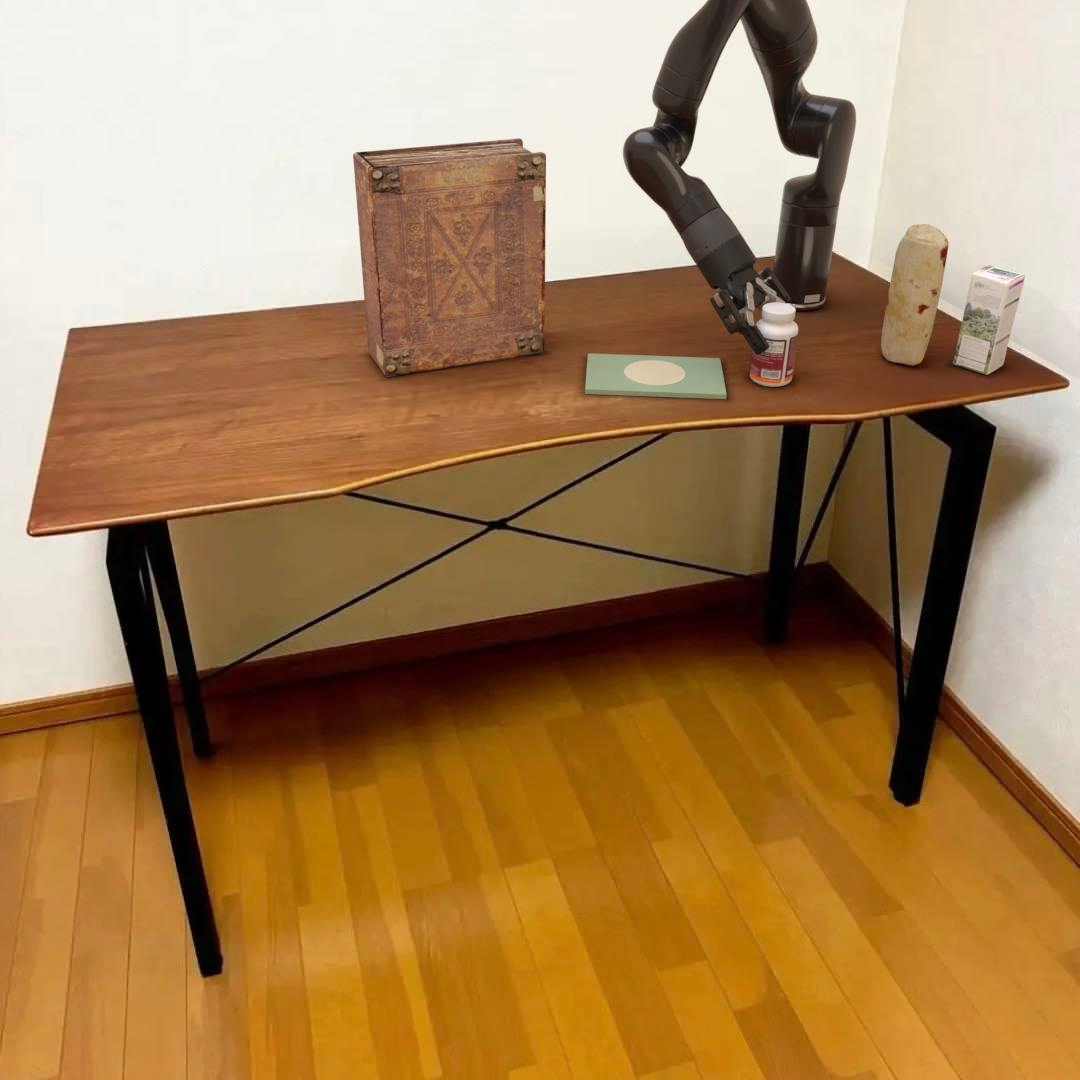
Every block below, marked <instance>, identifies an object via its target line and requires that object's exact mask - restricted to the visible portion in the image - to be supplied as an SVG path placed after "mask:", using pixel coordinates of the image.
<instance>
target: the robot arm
mask: <svg viewBox="0 0 1080 1080" xmlns="http://www.w3.org/2000/svg"><path fill="white" fill-rule="evenodd" d="M739 22H741V25H742V28H743V31H744V33H745V36H746V37H745V38H746V40H747V42H748V45H749V49H750V50H751V52H752V55H753V57H754V59H755V62H756V64H757V65H758V69H759V72H760V74H761V76H762V81H763V83H764V85H765V89H766V91H767V94H768V97H769V100H770V101H769V102H770V104H771V105H770V106H771V109H772V113H773V117H774V121H775V125H776V130H777V133H778V137H779V140H780V142H781V145H782V146H783V148H784V149H785V150H786V151H787V152H789V153H790V154H793V155H795V156H799V157H804V158H805V157H806V158H811V159H816V160H818V162H817V165H816V168H815V171H814V172H812V173H809V174H804V175H803V174H802V175H798V176H795V177H791V178H789V179H788V180H786V181H785V183H784V185H783V189H782V196H781V205H780V213H779V221H778V229H777V237H776V246H775V251H774V261H773V269H772V268H771V267H769V266H766V267H765V268H764V269H762V270H761V271H759V272H757V271H756V270H755V268H754V264H755V263H756V262H757V257H756V255H755V254H754V252H753V251H752V249H751V248H750V245H749V244H748V243H747V241H746V240H745V238H744V237H743V235H742V233H741V231H740V230H739V229H738V227H737V226H736V224H735V223H734V221H733V219H732V218H731V217H730V215H728V214H727V212H726V211H725V210H724V209H723V207H722V206H721V204H720V202H719V200H718V199H717V197H715V194H714V193H713V191H712V190H711V189H710V187H709V186H708V184H707V183H706V182H705V181H704V180H703V179H702V178H700V177H698V176H693V175H690V174H688V173H686V171H685V170H684V169H683V168H682V167H683V166H684V164H685V163H686V161H687V160H688V158H689V155H690V154H691V151H692V148H693V145H694V140H695V135H696V131H697V130H696V129H697V124H698V119H699V112H700V107H701V105H702V103H703V101H704V98H705V95H706V93H707V90H708V88H709V86H710V83H711V80H712V79H713V76H714V74H715V70H716V68H717V65H718V64H719V61H720V59H721V57H722V54H723V52H724V50H725V48H726V45H727V43H728V42H729V40H730V38H731V36H732V34H733V33H734V31H735V29H736V28H737V26H738V24H739ZM817 31H818V30H817V27H816V25H815V21H814V18H813V14H812V11H811V8H810V6H809V2H808V1H807V0H707V1H706V2H705V3H704V4H703V5H702V6H701V7H700V9H698V11H696V12H695V14H694V15H692V16H691V17H690V18H689V20H687V22H685V24H684V25H683V26H682V27H681V28H680V29H679V30H678V31H677V33H676V34H675V36H674V37H673V39H672V40H671V42H670V44H669V46H668V48H667V51H666V53H665V55H664V57H663V61H662V64H661V67H660V69H659V71H658V75H657V77H656V80H655V83H654V86H653V89H652V93H651V101H652V103H653V105H654V107H655V108H656V109H657V112H656V115H655V119H654V122H653V124H652V125H651V126H648V127H643V128H642V127H641V128H639V129H636V130H634V131H633V132H631V133H630V134H629V135H628V136H627V138H626V139H625V141H624V143H623V147H622V159H623V163H624V167H625V169H626V171H627V173H628V175H629V176H630V178H631V179H632V180H633V181H634V183H635V184H636V185H637V186H638V187H639V188H640V189H641V190H642V191H643V192H644V193H645V194H646V195H647V196H648V197H649V198H650V199H651V201H653V203H655V204H656V205H657V206H658V207H659V208H660V209H662V210H663V212H664V213H665V215H666V216H667V218H668V220H669V221H670V223H671V225H672V226H673V228H674V229H675V231H676V232H677V234H678V235H679V237H680V238H681V240H682V242H683V245H684V248H685V249H686V251H687V253H688V254H689V256H690V257H691V259H692V260H693V262H694V264H695V265H696V267H697V268H698V270H699V272H700V273H701V274H702V276H703V277H704V279H705V281H706V282H707V284H708V285H709V287H710V288H711V290H718V289H719V290H718V291H717V292H716V293H715V294H714V295H712V296H711V297H709V301H710V304H711V305H712V307H713V309H714V310H715V312H716V314H717V315H718V317H719V319H720V320H721V322H722V323H723V325H724V327H725V329H726V331H727V332H728V333H729V334H730V335H733V334H735V333H737V334H738V335H742V336H743V338H744V339H745V341H746V343H747V344H748V346H749V347H750V349H751V350H753V351H754V352H755V354H756V355H760V354H761V353H763V352H764V351H766V350H767V349H768V348H769V344H768V343H767V341H766V340H765V338H764V336H763V335H762V333H761V332H760V330H759V329H758V327H757V326H755V319H754V312H755V310H756V309H757V310H758V311H762V308H763V306H764V305H765V304H767V303H773V302H779V303H786V304H789V305H792V306H793V307H795V309H796V311H800V312H803V311H805V312H806V311H814V310H815V311H816V310H819V309H821V308H822V307H824V306H825V304H826V298H827V297H826V293H827V288H828V282H829V274H830V268H831V261H832V256H833V248H834V241H835V235H836V229H837V222H838V215H839V209H840V202H841V196H842V192H843V189H844V187H845V186H844V185H845V182H846V178H847V173H848V168H849V167H848V166H849V162H850V157H851V151H852V148H853V143H854V139H855V133H856V126H857V111H856V108H855V105H854V104H853V102H852V101H851V100H849V99H846V98H845V99H844V98H838V97H831V96H827V95H826V96H825V95H819V94H813V93H811V92H809V90H807V89H806V86H805V85H804V82H803V77H805V74H806V72H807V71H808V69H809V67H810V66H811V64H812V62H813V60H814V58H815V55H816V51H817V48H818V42H819V41H818V32H817ZM730 316H731V318H730ZM731 319H732V320H733V322H732V320H731Z"/></svg>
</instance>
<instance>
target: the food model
mask: <svg viewBox="0 0 1080 1080" xmlns="http://www.w3.org/2000/svg"><path fill="white" fill-rule="evenodd" d="M949 245H950V244H949V240H948V237H947V236H946V235H945V234H944V233H943V232H942V230H940V229H939V228H938V227H936V226H933V225H931V224H926V223H921V224H920V223H919V224H913V225H911V226H909V227H908V228H907V230H906V232H905V235H904V236H903V237H901V239H900V241H899V243H898V246H897V248H896V250H895V256H894V262H893V268H892V272H891V276H890V277H891V278H890V282H889V286H888V287H889V288H888V294H887V297H886V298H887V299H886V306H885V311H884V317H883V323H882V329H881V330H882V331H881V337H880V339H881V340H880V349H881V354H882V356H883V357H884V359H886V360H887V361H888V362H891V363H897V364H903V365H907V366H916V365H919V364H921V363H922V362H923V360H924V358H925V355H926V352H927V349H928V346H929V343H930V339H931V336H932V332H933V329H934V323H935V319H936V316H937V311H938V307H939V306H938V305H939V301H940V296H941V291H942V286H943V281H944V275H945V271H946V270H945V269H946V264H947V257H948V251H949Z"/></svg>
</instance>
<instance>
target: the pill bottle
mask: <svg viewBox="0 0 1080 1080" xmlns="http://www.w3.org/2000/svg"><path fill="white" fill-rule="evenodd" d="M796 311H797V310H796V309H795V307H793V306H792V305H789V304H786V303H779V302H773V303H767V304H765V305H764V306H763V308H762V310H761V318H760V319H759V320H758V321H757V322H756V323H755V324H754V326H757V327H758V329H759V330H760V332H761V333H762V335H763V336H764V338H765V340H766V341H767V343H768V344H769V348H768V349H767V350H766V351H764V352H763V353H761V354H760V355H756V354H755V352H754V351H753V350H752V349H751V350H752V351H751V359H750V369H749V378H750V379H751V381H752V382H754V383H756V384H757V385H760V386H764V387H769V388H778V387H783V386H786V385H788V384H790V383H791V382H792V380H793V377H794V376H793V375H794V368H795V359H796V351H797V344H798V343H797V342H798V338H799V325H798V324H797V323H796V321H794V320H795V318H796Z"/></svg>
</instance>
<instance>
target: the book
mask: <svg viewBox="0 0 1080 1080" xmlns="http://www.w3.org/2000/svg"><path fill="white" fill-rule="evenodd" d="M352 159H353V173H354V184H355V185H354V186H355V198H356V199H355V200H356V211H357V222H358V236H359V249H360V261H361V262H360V263H361V274H362V285H363V287H362V288H363V297H364V298H363V299H364V300H363V301H364V312H365V323H366V324H365V325H366V336H367V348H368V349H367V350H368V354H369V355H370V357H371V358H372V359H373V361H374V363H375V364H376V365H377V366H378V368H379V369H380V371H381V372H382V373H383V375H384V377H386V378H389V377H396V376H402V375H409V374H417V373H424V372H429V371H431V372H432V371H436V370H438V371H439V370H445V369H449V368H450V369H451V368H457V367H465V366H471V365H477V364H484V363H485V364H486V363H491V362H499V361H505V360H512V359H519V358H525V357H532V356H540V355H544V353H546V347H545V345H546V333H545V332H546V230H547V229H546V222H547V221H546V219H547V218H546V215H547V214H546V213H547V211H546V210H547V155H546V152H543V151H537V152H532V151H530V150H529V149H527V148H525V147H524V141H523V139H522V138H520V137H519V138H508V139H507V138H506V139H495V140H483V141H472V142H461V143H449V144H436V145H425V146H413V147H412V146H411V147H400V148H390V149H379V150H367V151H357V152H353V154H352Z"/></svg>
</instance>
